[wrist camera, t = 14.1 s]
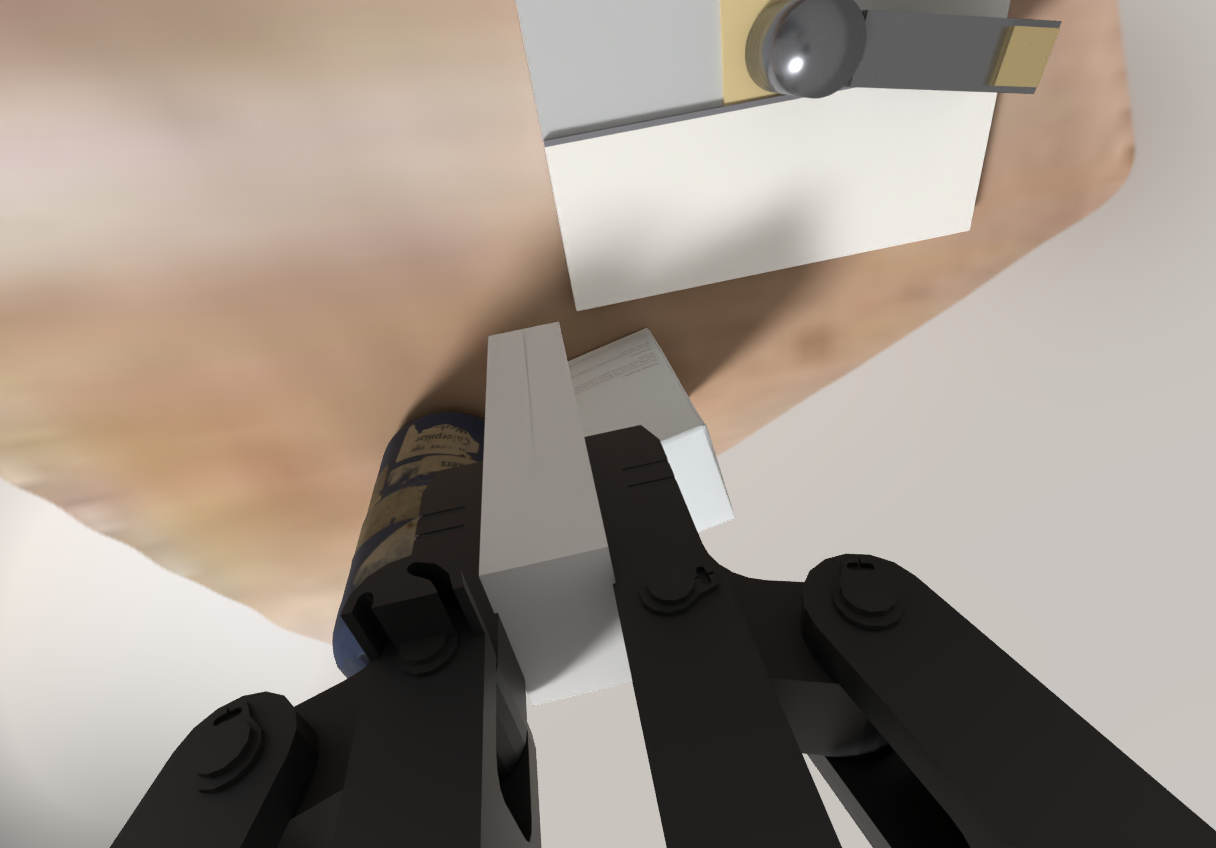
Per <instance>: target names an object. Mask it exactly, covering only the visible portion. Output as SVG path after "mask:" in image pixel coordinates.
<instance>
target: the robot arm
mask: <svg viewBox="0 0 1216 848" xmlns="http://www.w3.org/2000/svg"><path fill="white" fill-rule="evenodd" d="M418 517H419V520H418V521H417V526H416V532H415V537H416V540H414V543H413V549H412V555H410V556H407V557H404V558H401V559H399V560H396V561H393V562H390V563H388V564H386V565H385V566H383V567H382V568H380V569H378V570H377V571H375V572H374V573H372V574H371V575H369V576H368V577H366V578H365V580H364V581H363V582H362V583H361V584H360V585H359V586H358V587H357V588H356V589H355V590H354V591H353V592H352V593H351V594H350V596H349V598H348V600H347V602H346V604H345V606H344V608H343V610H342V612H341V614H340V616H341V617H342V619H343V620H344V622H345V624H346V625H347V627H348V628H349V630H350V631H351V633H352V634H353V636H354V637H355V639H356V640H357V642H358V643H359V645H360V646H361V648H362V650H363V651H364V653H365V654H366V656H367V657H368V659H369V660H370V663H369V664H368V665H367V666H365V667H364V668H363V669H362V670H361V671H359V672H357V673H356V674H354V675H353V676H351V677H349V678H348V679H346V680H345V681H343V682H341V683H339V684H337V685H335V686H333V687H331V688H329V689H328V690H326V691H324V692H322V693H320V694H318V695H316V696H314V697H312V698H310V699H308V700H306V701H304V702H303V703H301V704H299V705H297V706H295V707H293V706H292V704H291V703H290V702H289V701H288V700H287V698H286V697H285V696H283V695H279V694H275V693H270V692H261V693H256V694H251V695H246V696H242V697H240V698H238V699H236V700H234V701H232V702H230V703H228V704H226V705H224V706H222V707H220V708H218V709H217V710H216V711H214V712H213V713H212V714H211V715H209V716H208V717H207V718H206V719H204V720H203V721H202V722H201V723H200V724H198V725H197V726H196V727H195V728H193V730H192V731H191V732H190V733H189V734H188V735H187V737H186V738H185V739H184V740H183V742H182V743H181V744H180V745H179V746H178V747H177V749H176V750H175V751H174V752H173V754H172V755H171V757H170V758H169V760H168V761H167V763H166V764H165V766H164V767H163V769H162V770H161V772H160V773H159V775H158V776H157V778H156V779H155V781H154V782H153V784H152V785H151V787H150V788H149V790H148V791H147V793H146V794H145V796H144V797H143V799H142V800H141V802H140V803H139V805H138V806H137V808H136V809H135V811H134V812H133V814H132V815H131V817H130V818H129V820H128V821H127V823H126V824H125V826H124V827H123V829H122V830H121V832H120V833H119V835H118V836H117V838H116V839H115V840H114V842H113V844H112V845H111V847H110V848H541V834H540V815H539V798H538V779H537V761H536V748H535V744H534V740H533V736H532V732H531V730H530V728H529V725H528V723H527V712H526V691H527V694H528V696H529V699H530V701H531V703H532V706H535V705H539V704H543V703H547V702H552V701H556V700H560V699H564V698H568V697H573V696H577V695H581V694H585V693H589V692H593V691H598V690H602V689H606V688H610V687H614V686H619V685H623V684H627V683H631V682H633V687H634V692H635V696H636V701H637V706H638V711H639V716H640V721H641V726H642V730H643V735H644V739H645V745H646V750H647V754H648V759H649V764H650V769H651V773H652V779H653V783H654V788H655V793H656V798H657V803H658V807H659V812H660V817H661V822H662V827H663V832H664V837H665V841H666V846H667V848H842V847H841V844H840V842H839V840H838V837H837V835H836V833H835V830H834V828H833V826H832V824H831V821H830V819H829V816H828V814H827V811H826V809H825V807H824V805H823V802H822V800H821V797H820V795H819V793H818V790H817V788H816V786H815V783H814V781H813V779H812V776H811V774H810V772H809V769H808V767H807V765H806V762H805V760H804V757H803V755H802V753H805V754H808V756H809V757H810V759H811V760H812V762H813V763H814V765H815V766H816V767H817V769H818V770H819V772H820V773H821V774H822V776H823V777H824V779H825V780H826V781H827V783H828V784H829V786H830V787H831V789H832V790H833V791H834V793H835V794H836V796H837V797H838V799H839V800H840V801H841V803H842V804H843V806H844V807H845V809H846V810H847V811H848V813H849V814H850V816H851V817H852V819H853V820H854V821H855V823H856V824H857V825H858V827H859V828H860V830H861V831H862V833H863V834H864V835H865V837H866V838H867V840H868V841H869V843H870V844H871V845H872V847H873V848H1216V831H1215V830H1214V829H1213V828H1211V827H1210V826H1209V825H1208V824H1207V823H1206V822H1204V821H1203V820H1202V819H1201V818H1200V817H1199V816H1197V815H1196V814H1195V813H1194V812H1193V811H1191V810H1190V809H1189V808H1188V807H1187V806H1186V805H1184V804H1183V803H1182V802H1181V801H1179V799H1177V798H1176V797H1175V796H1174V795H1172V794H1171V793H1170V792H1169V791H1168V790H1167V789H1166V788H1164V787H1163V786H1162V785H1161V784H1160V783H1159V782H1157V781H1156V780H1155V779H1154V778H1153V777H1151V776H1150V775H1149V774H1148V773H1147V772H1145V771H1144V770H1143V769H1142V768H1141V767H1140V766H1139V765H1137V764H1136V763H1135V762H1134V761H1133V760H1131V759H1130V758H1129V757H1128V756H1127V755H1126V754H1124V753H1123V752H1122V751H1121V750H1120V749H1118V748H1117V747H1116V746H1115V745H1114V744H1113V743H1112V742H1110V741H1109V740H1108V739H1107V738H1106V737H1104V736H1103V735H1102V734H1101V733H1100V732H1098V731H1097V730H1096V729H1095V728H1094V727H1093V726H1091V725H1090V724H1089V723H1088V722H1087V721H1086V720H1084V719H1083V718H1082V717H1081V716H1080V715H1078V714H1077V713H1076V712H1075V711H1074V710H1073V709H1071V708H1070V707H1069V706H1068V705H1067V704H1066V703H1064V702H1063V701H1062V700H1061V699H1060V698H1059V697H1057V696H1056V695H1055V694H1054V693H1053V692H1051V691H1050V690H1049V689H1048V688H1046V687H1045V686H1044V685H1043V684H1042V683H1041V682H1040V681H1039V680H1037V679H1036V678H1035V677H1034V676H1033V675H1031V674H1030V673H1029V672H1028V671H1026V669H1024V668H1023V667H1022V666H1021V665H1020V664H1019V663H1017V662H1016V661H1015V660H1014V659H1013V658H1011V657H1010V656H1009V655H1008V654H1007V653H1006V652H1004V651H1003V650H1002V649H1001V648H1000V647H999V646H997V645H996V644H995V643H994V642H993V641H991V640H990V639H989V638H988V637H987V636H986V635H984V634H983V633H982V632H981V631H980V630H978V629H977V628H976V627H975V626H974V625H973V624H971V623H970V622H969V621H968V620H967V619H966V618H964V617H963V616H962V615H961V614H960V613H959V612H957V611H956V610H955V609H954V608H953V607H951V606H950V605H949V604H948V603H947V602H946V601H944V600H943V599H942V598H941V597H940V596H938V595H937V594H936V593H935V592H934V591H932V590H931V589H930V588H929V587H928V586H927V585H926V584H924V583H923V582H922V581H921V580H920V579H918V578H917V577H916V576H915V575H913V574H912V573H910V572H909V571H907V570H905V569H904V568H902V567H901V566H899V565H897V564H896V563H894V562H891V561H888V560H885V559H882V558H879V557H875V556H872V555H863V554H843V555H839V556H836V557H832V558H828V559H825V560H824V561H822V562H821V563H820V564H818V565H817V566H816V567H815V568H813V569H812V570H810V572H809V574H808V576H807V578H806V580H805V582H790V581H768V580H761V579H753V578H748V577H745V576H742V575H739V574H736V573H733V572H731V571H730V570H728V569H726V568H725V567H723V566H721V565H719V564H718V563H717V562H716V561H715V560H714V559H713V558H712V557H711V556H710V555H709V554H708V552H707V550H706V549H705V547H704V545H703V544H702V541H701V539H700V537H699V534H698V532H697V529H696V527H695V524H694V522H693V520H692V517H691V515H690V512H689V510H688V507H687V505H686V502H685V500H684V498H683V495H682V493H681V490H680V488H679V485H678V483H677V481H676V480H675V476H674V473H673V471H672V468H671V466H670V463H668V459H667V456H666V454H665V451H664V449H663V446H662V444H661V442H660V439H659V438H657V437H656V436H655V435H653V434H652V433H651V432H650V431H648V430H647V429H646V428H644V427H643V426H642V425H637V426H633V427H628V428H623V429H619V430H614V431H609V432H605V433H600V434H596V435H591V436H586V437H584V434H583V429H582V425H581V420H580V416H579V411H578V406H577V402H576V397H575V393H574V388H573V384H572V379H571V374H570V370H569V365H568V361H567V356H566V352H565V347H564V342H563V338H562V333H561V329H560V324H559V322H554V323H549V324H544V325H539V326H535V327H530V328H525V329H520V330H515V331H510V332H506V333H501V334H496V335H491V336H488V356H487V381H486V406H485V432H484V457H483V461H481V462H476V463H471V464H467V465H462V466H458V467H453V468H448V469H444V470H439V471H437V473H436V474H435V476H434V477H433V478H432V480H431V481H430V483H429V484H428V486H427V487H426V488H425V490H424V491H423V493H422V498H421V503H420V509H419V515H418Z"/></svg>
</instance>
